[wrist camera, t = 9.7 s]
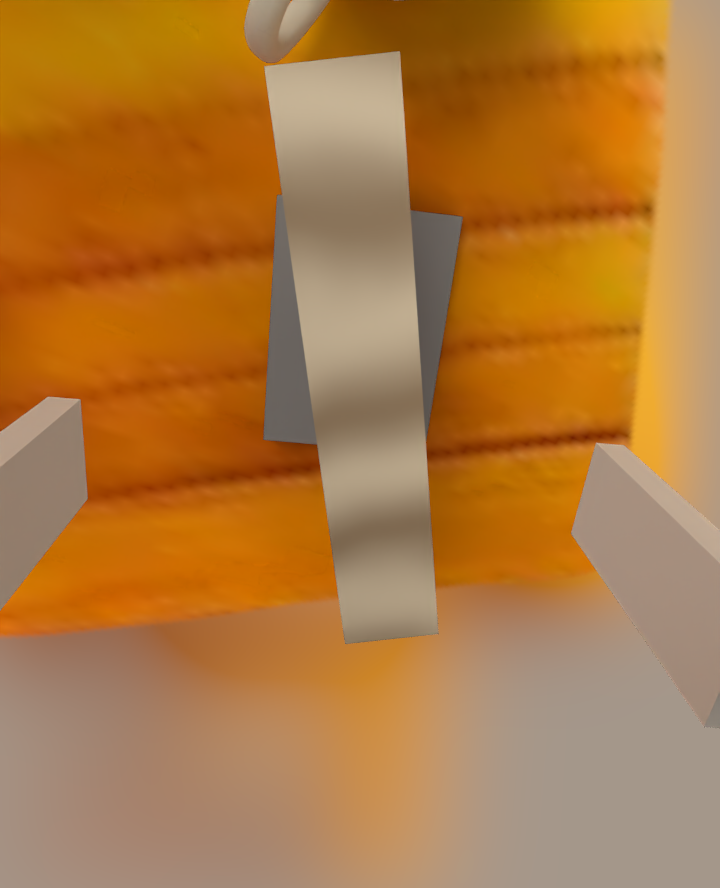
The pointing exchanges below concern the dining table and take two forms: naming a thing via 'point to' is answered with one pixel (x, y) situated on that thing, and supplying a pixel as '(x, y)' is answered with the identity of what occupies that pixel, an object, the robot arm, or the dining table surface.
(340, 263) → the batten
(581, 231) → the dining table surface
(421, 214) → the fulcrum
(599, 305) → the dining table surface
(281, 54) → the floral ceramic pitcher
